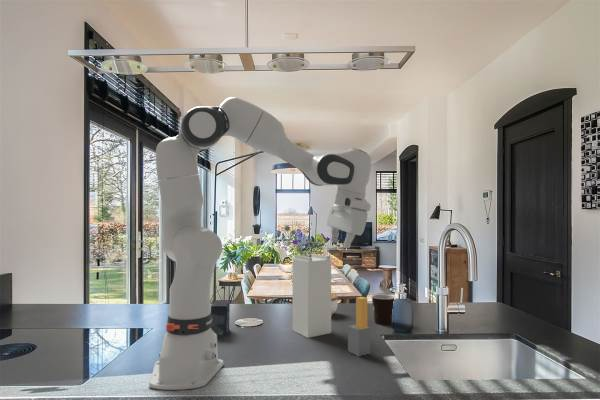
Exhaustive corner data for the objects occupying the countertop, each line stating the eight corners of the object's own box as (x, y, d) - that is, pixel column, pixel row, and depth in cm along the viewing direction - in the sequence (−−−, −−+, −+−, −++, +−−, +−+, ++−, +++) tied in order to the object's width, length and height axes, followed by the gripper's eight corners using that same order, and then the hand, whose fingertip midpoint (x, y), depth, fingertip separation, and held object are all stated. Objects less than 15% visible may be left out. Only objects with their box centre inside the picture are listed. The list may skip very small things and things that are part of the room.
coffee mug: (390, 327, 150) (390, 300, 151) (368, 323, 155) (368, 297, 155) (400, 320, 160) (399, 294, 160) (379, 316, 165) (379, 292, 165)
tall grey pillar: (331, 333, 143) (331, 256, 144) (307, 337, 138) (307, 257, 138) (315, 326, 151) (315, 253, 152) (292, 330, 146) (292, 255, 147)
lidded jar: (313, 310, 175) (313, 289, 175) (338, 311, 173) (338, 289, 173) (311, 317, 164) (311, 294, 164) (337, 318, 162) (337, 295, 163)
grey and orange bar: (369, 297, 123) (359, 294, 127) (358, 299, 120) (347, 296, 124) (370, 354, 122) (359, 349, 126) (358, 357, 120) (347, 352, 124)
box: (226, 336, 139) (226, 305, 139) (210, 336, 139) (210, 305, 139) (229, 329, 147) (229, 300, 147) (214, 329, 146) (214, 300, 147)
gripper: (327, 197, 134) (318, 237, 134) (354, 201, 115) (344, 249, 115) (344, 201, 136) (335, 241, 136) (373, 206, 117) (363, 252, 117)
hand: (339, 244), depth 125 cm, fingers open, 8 cm apart
